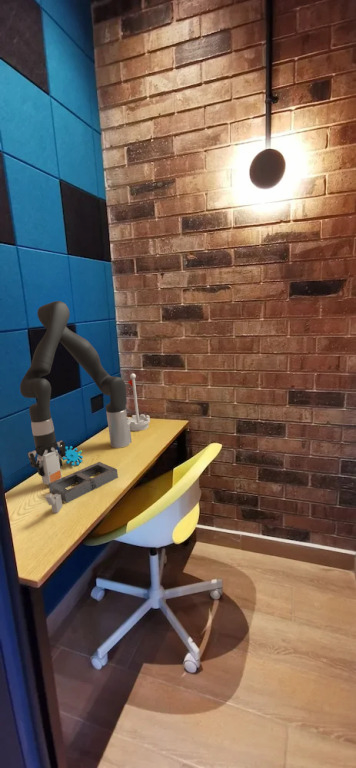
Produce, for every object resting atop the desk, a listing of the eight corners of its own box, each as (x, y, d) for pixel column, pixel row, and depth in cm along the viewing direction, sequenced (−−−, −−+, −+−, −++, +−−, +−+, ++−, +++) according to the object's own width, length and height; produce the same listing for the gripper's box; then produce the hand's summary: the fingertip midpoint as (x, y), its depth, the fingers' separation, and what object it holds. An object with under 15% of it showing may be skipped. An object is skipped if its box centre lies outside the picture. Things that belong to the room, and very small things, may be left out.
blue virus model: (70, 467, 144) (57, 448, 147) (63, 475, 147) (51, 456, 149) (89, 459, 154) (77, 442, 156) (83, 467, 156) (71, 450, 159)
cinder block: (100, 469, 143) (99, 461, 142) (118, 477, 135) (117, 469, 134) (49, 492, 128) (48, 483, 127) (66, 503, 120) (65, 493, 119)
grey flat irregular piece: (57, 506, 118) (54, 484, 117) (62, 505, 118) (59, 484, 116) (48, 518, 111) (44, 495, 110) (53, 518, 111) (49, 495, 110)
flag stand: (155, 425, 191) (150, 372, 185) (137, 433, 182) (131, 376, 176) (139, 422, 200) (133, 370, 194) (121, 429, 191) (115, 375, 184)
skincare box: (50, 485, 131) (44, 456, 128) (42, 483, 133) (37, 454, 131) (62, 478, 136) (57, 449, 133) (55, 476, 138) (50, 448, 136)
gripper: (56, 423, 138) (63, 462, 141) (19, 435, 128) (28, 477, 131) (66, 426, 133) (72, 467, 136) (29, 439, 123) (37, 482, 126)
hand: (51, 471), depth 134 cm, fingers closed on skincare box, 6 cm apart
